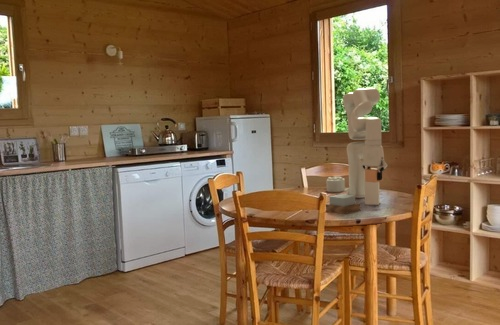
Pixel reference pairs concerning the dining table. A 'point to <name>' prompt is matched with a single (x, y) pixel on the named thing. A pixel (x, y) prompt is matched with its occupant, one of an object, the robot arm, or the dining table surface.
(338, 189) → the lumpy-topped squat cylinder
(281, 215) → the dining table surface
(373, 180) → the orange cube
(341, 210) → the base block
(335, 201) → the grey square block
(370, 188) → the milk carton
